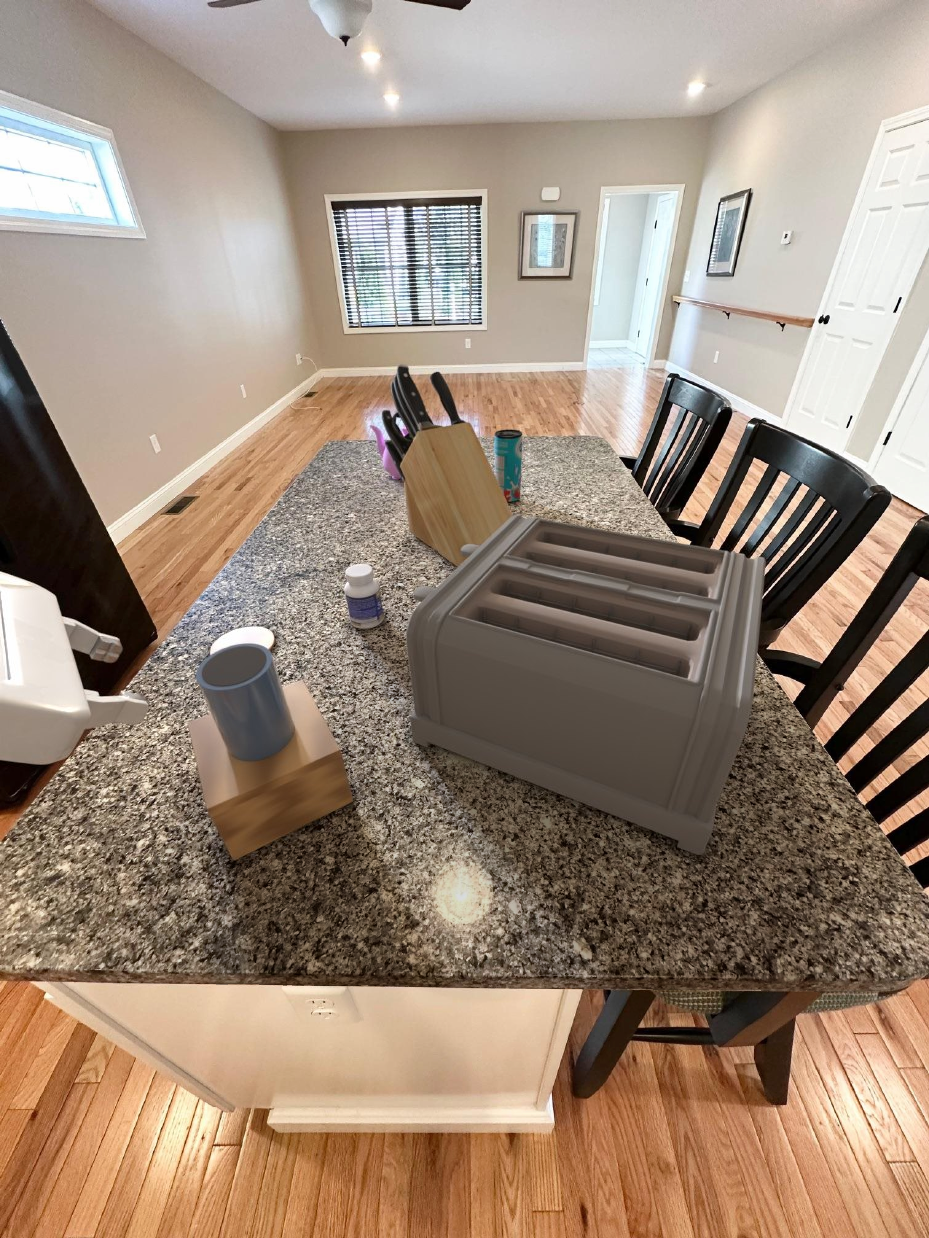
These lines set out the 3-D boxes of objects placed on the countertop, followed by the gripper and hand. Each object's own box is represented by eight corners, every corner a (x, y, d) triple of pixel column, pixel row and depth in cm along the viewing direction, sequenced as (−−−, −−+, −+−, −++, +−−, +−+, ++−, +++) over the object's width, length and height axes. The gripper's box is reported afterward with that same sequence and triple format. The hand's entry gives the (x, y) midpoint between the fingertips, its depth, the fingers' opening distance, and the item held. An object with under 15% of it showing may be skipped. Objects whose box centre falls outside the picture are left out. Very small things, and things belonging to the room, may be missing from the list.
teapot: (361, 479, 132) (354, 431, 125) (389, 462, 143) (384, 417, 136) (430, 488, 126) (427, 438, 119) (454, 470, 136) (452, 422, 129)
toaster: (492, 602, 83) (492, 500, 73) (732, 662, 69) (772, 547, 59) (383, 730, 61) (362, 609, 51) (702, 857, 47) (758, 724, 37)
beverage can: (517, 506, 115) (519, 437, 107) (491, 503, 117) (491, 436, 108) (522, 496, 120) (525, 430, 111) (498, 494, 121) (498, 428, 113)
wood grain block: (233, 861, 48) (206, 809, 44) (211, 773, 57) (187, 722, 52) (353, 801, 53) (340, 749, 49) (317, 728, 62) (302, 678, 57)
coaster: (216, 674, 71) (215, 672, 70) (205, 641, 77) (205, 639, 77) (281, 651, 74) (281, 649, 74) (266, 621, 81) (265, 619, 80)
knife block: (433, 506, 116) (422, 354, 99) (531, 568, 92) (540, 381, 74) (388, 518, 112) (368, 361, 94) (479, 587, 87) (475, 392, 69)
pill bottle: (387, 624, 79) (380, 574, 74) (354, 633, 77) (344, 582, 72) (379, 607, 83) (372, 558, 78) (347, 615, 81) (337, 565, 76)
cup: (233, 772, 47) (201, 700, 42) (220, 728, 51) (190, 658, 46) (302, 742, 49) (280, 671, 44) (284, 703, 54) (262, 634, 49)
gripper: (-114, 666, 23) (186, 715, 34) (-86, 529, 37) (123, 595, 47) (-178, 782, 24) (139, 796, 34) (-127, 605, 37) (90, 653, 47)
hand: (130, 678), depth 41 cm, fingers open, 8 cm apart
